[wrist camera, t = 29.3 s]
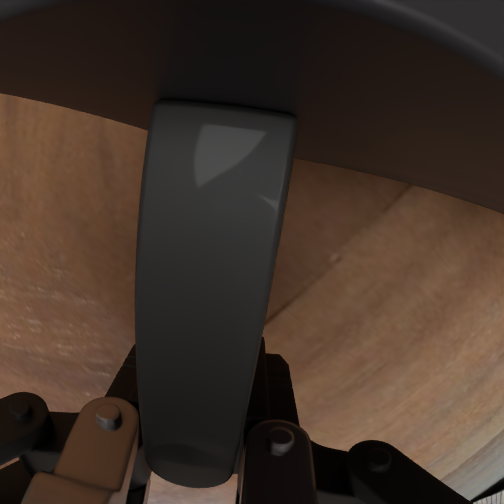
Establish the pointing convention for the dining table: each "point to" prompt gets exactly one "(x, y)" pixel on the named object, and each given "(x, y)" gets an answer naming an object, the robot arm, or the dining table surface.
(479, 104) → the oven door
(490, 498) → the mat
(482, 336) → the dining table surface
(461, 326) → the dining table surface
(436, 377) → the dining table surface
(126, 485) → the robot arm
